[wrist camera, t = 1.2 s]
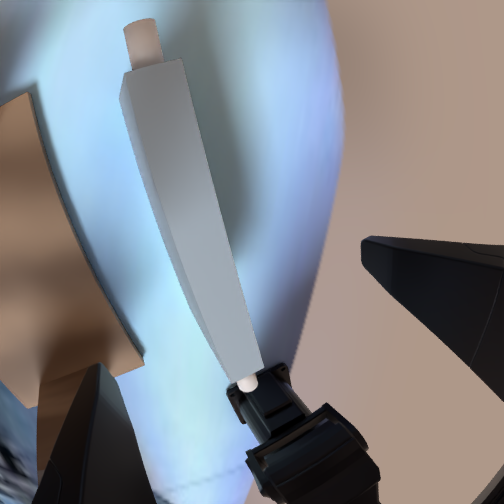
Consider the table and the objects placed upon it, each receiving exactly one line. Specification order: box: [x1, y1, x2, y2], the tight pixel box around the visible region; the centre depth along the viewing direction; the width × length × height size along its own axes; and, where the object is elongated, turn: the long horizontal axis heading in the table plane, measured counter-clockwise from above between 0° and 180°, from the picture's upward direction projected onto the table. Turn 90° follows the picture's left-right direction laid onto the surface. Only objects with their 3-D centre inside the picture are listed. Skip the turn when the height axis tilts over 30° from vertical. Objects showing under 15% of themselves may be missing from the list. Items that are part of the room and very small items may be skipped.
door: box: [119, 18, 264, 392], centre depth 15 cm, size 19×2×8 cm, turn 13°
